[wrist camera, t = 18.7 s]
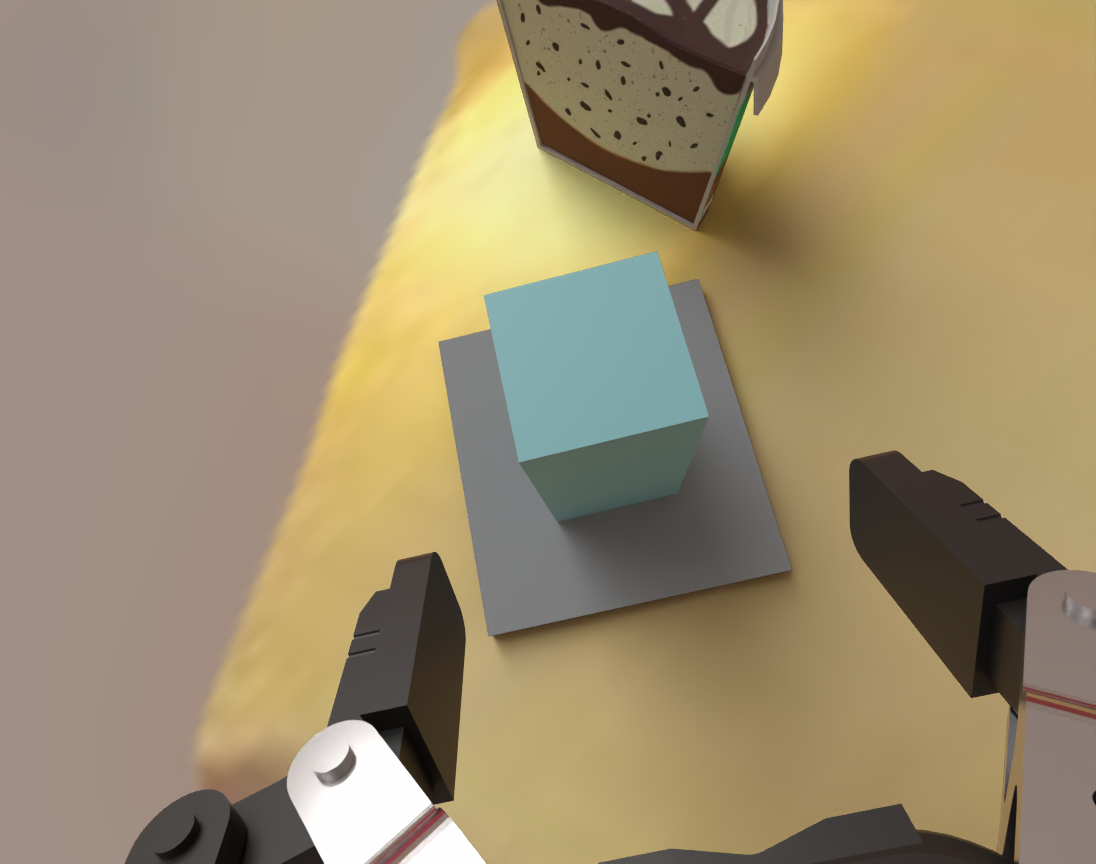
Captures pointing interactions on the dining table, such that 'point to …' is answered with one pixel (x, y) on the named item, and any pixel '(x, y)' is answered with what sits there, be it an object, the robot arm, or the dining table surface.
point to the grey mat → (617, 534)
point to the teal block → (598, 385)
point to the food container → (645, 88)
